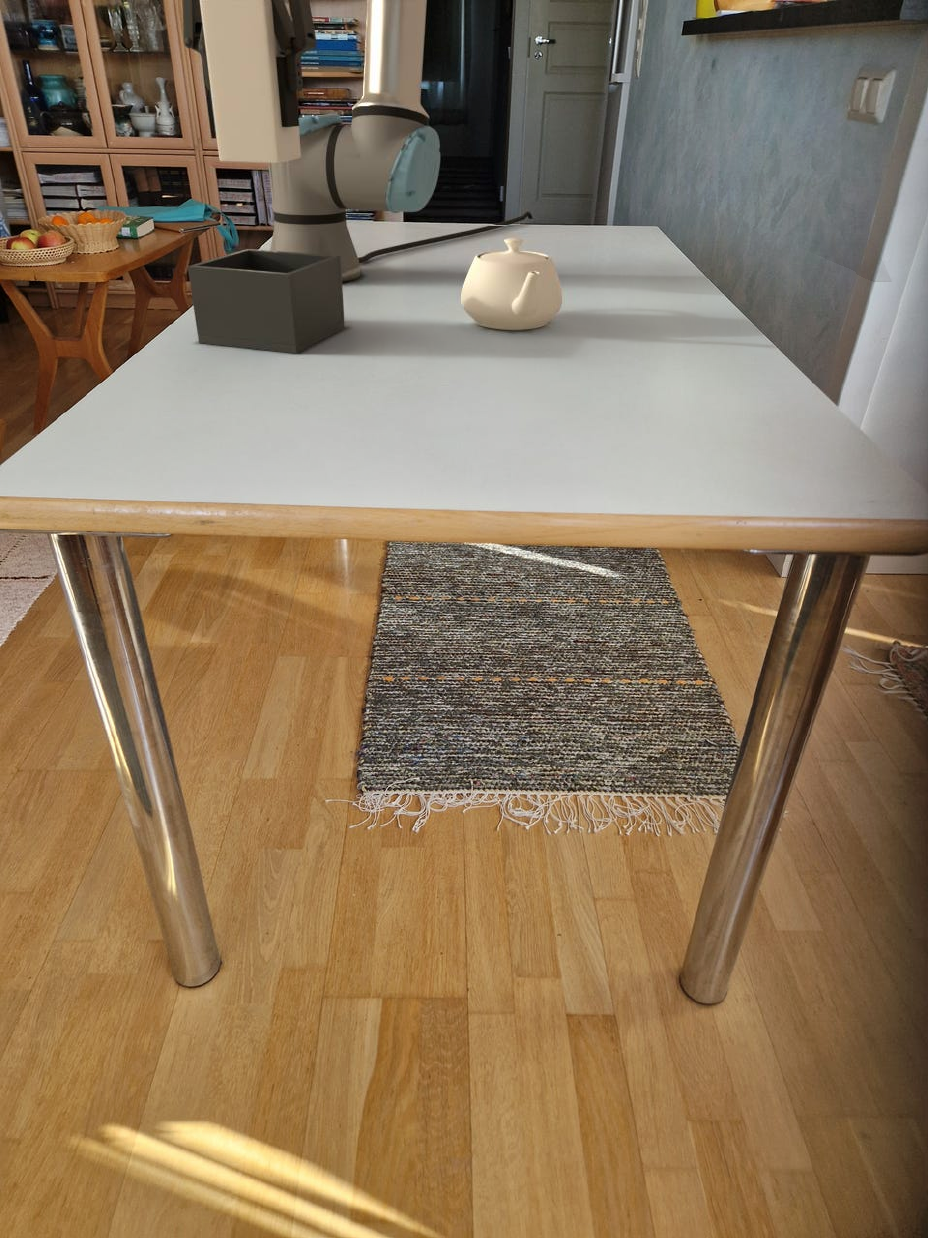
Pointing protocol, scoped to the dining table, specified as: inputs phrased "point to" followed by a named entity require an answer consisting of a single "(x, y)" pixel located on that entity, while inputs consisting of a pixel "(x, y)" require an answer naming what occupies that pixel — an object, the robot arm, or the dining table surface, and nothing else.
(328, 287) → the waste bin
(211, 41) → the milk carton
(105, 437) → the dining table surface
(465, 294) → the teapot
